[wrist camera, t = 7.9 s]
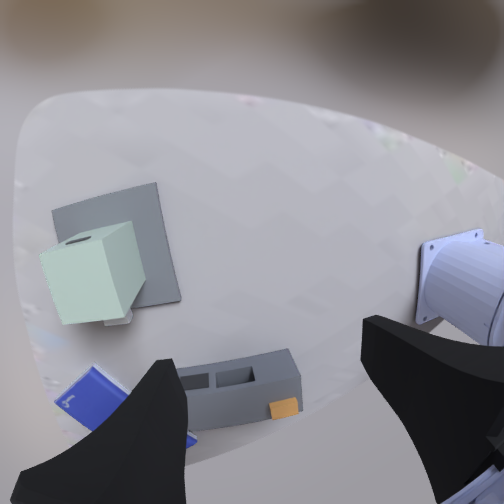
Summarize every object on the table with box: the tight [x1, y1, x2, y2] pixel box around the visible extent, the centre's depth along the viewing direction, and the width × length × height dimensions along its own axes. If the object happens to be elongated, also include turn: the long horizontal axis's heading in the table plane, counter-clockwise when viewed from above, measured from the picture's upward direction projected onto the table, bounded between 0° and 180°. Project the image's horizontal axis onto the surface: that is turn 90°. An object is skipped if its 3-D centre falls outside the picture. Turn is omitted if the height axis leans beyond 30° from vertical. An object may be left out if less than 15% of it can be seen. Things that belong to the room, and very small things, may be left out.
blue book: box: [54, 362, 197, 448], centre depth 21 cm, size 2×8×12 cm
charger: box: [39, 221, 146, 326], centre depth 15 cm, size 4×6×6 cm
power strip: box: [177, 349, 303, 432], centre depth 20 cm, size 9×4×4 cm, turn 99°
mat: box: [52, 182, 181, 309], centre depth 17 cm, size 8×8×1 cm
